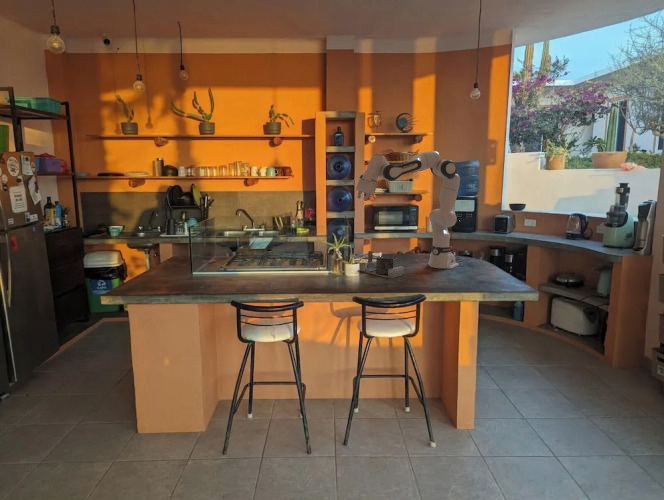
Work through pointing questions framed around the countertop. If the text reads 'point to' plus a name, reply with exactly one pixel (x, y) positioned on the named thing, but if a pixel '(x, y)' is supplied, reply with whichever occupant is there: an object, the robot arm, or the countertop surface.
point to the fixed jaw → (389, 272)
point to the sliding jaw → (370, 263)
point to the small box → (384, 265)
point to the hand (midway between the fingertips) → (361, 199)
